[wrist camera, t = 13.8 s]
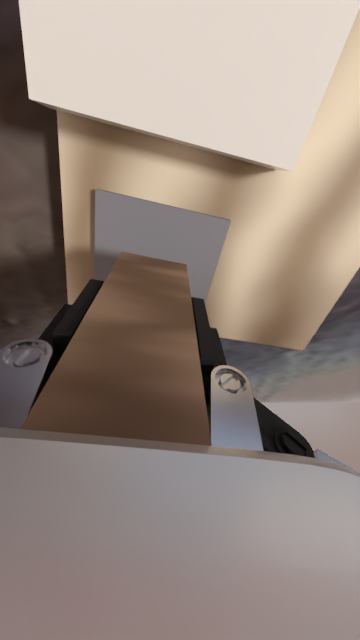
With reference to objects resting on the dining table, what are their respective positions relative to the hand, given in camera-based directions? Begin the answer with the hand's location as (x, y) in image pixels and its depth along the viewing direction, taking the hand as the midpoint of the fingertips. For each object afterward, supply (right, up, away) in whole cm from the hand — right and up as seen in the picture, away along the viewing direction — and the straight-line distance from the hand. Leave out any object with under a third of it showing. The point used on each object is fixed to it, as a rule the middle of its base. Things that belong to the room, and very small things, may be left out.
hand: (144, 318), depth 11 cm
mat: (0, +4, +5) cm, 6 cm away
